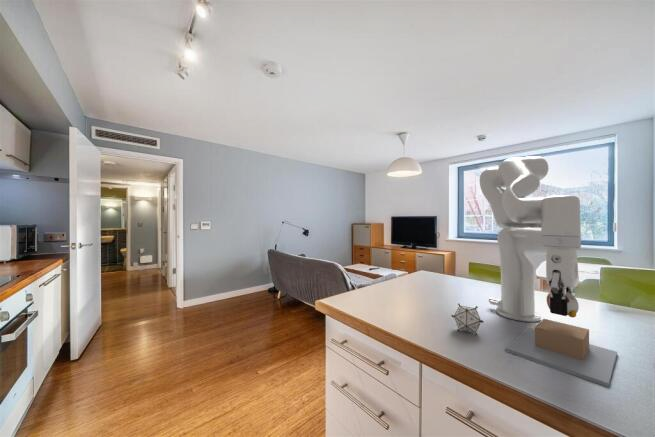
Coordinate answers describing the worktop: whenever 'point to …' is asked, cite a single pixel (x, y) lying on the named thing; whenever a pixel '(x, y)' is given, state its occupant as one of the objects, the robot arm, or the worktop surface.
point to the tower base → (565, 363)
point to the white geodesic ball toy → (467, 319)
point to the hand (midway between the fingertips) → (561, 310)
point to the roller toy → (568, 304)
